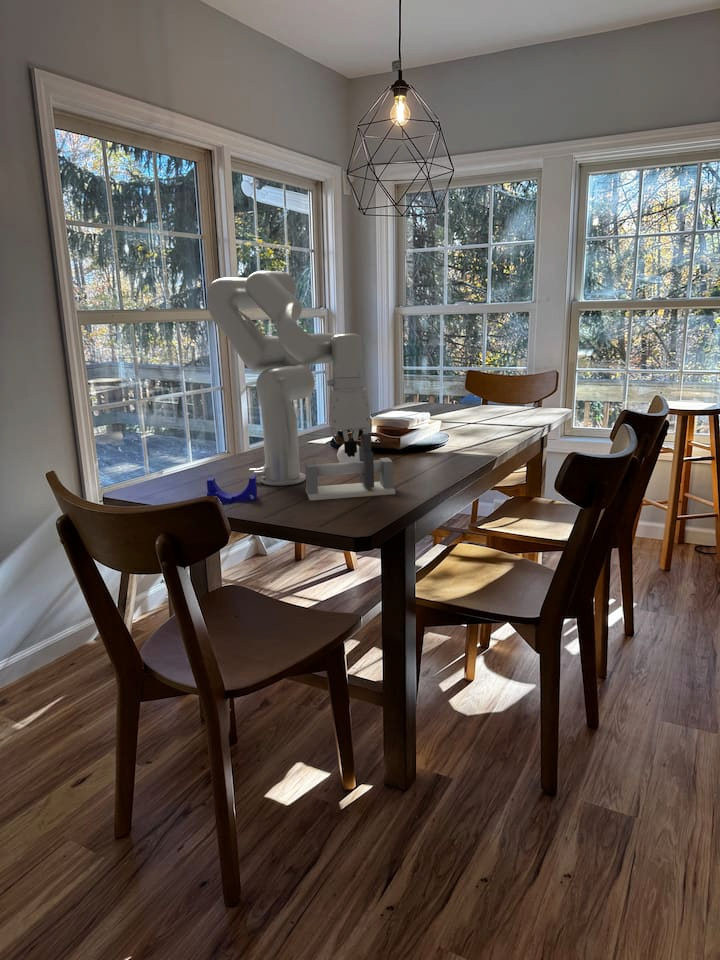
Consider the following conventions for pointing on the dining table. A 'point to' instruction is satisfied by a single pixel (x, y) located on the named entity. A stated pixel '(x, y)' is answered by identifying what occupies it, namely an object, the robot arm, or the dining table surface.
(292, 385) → the robot arm
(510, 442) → the dining table surface
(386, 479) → the pipe stand
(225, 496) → the blue pipe cradle
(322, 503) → the dining table surface
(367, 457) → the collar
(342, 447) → the geometric ball
